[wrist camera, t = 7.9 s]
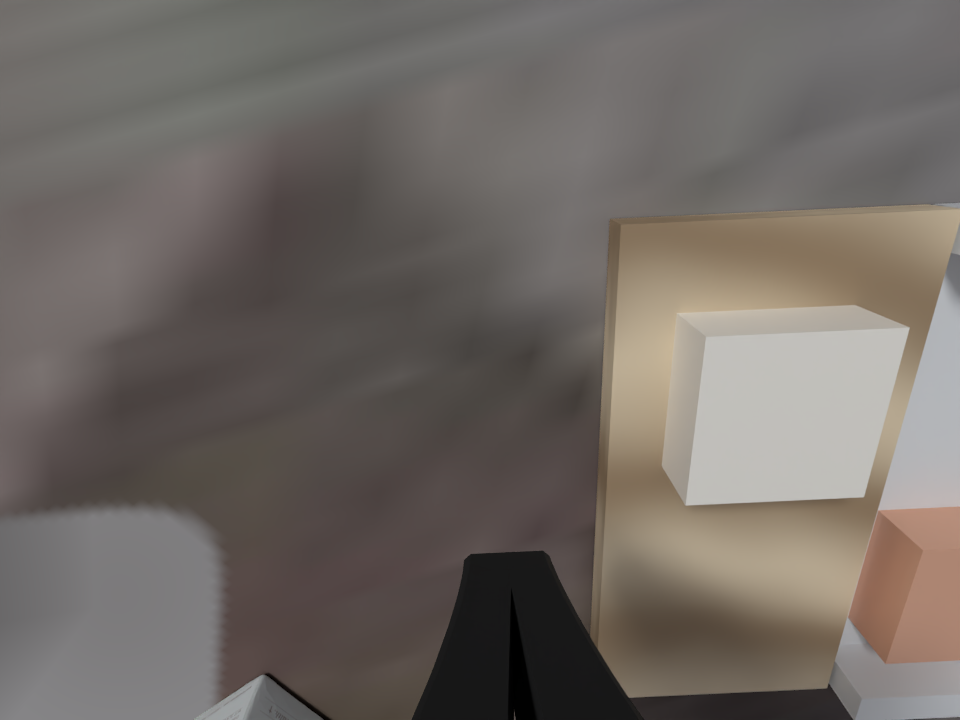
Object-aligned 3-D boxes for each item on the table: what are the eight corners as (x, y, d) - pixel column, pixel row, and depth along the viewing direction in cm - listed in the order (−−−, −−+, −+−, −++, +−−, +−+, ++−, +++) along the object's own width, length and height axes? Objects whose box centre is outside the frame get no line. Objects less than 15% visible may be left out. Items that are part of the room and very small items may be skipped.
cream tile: (820, 458, 17) (864, 497, 15) (661, 465, 17) (685, 505, 15) (855, 304, 15) (909, 327, 13) (676, 313, 15) (706, 337, 13)
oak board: (808, 660, 22) (826, 688, 21) (588, 671, 22) (595, 699, 21) (927, 204, 15) (963, 209, 14) (610, 219, 15) (620, 224, 14)
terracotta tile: (977, 610, 21) (1028, 657, 19) (848, 617, 21) (885, 664, 19) (1020, 503, 19) (1081, 542, 17) (878, 510, 19) (923, 550, 17)
